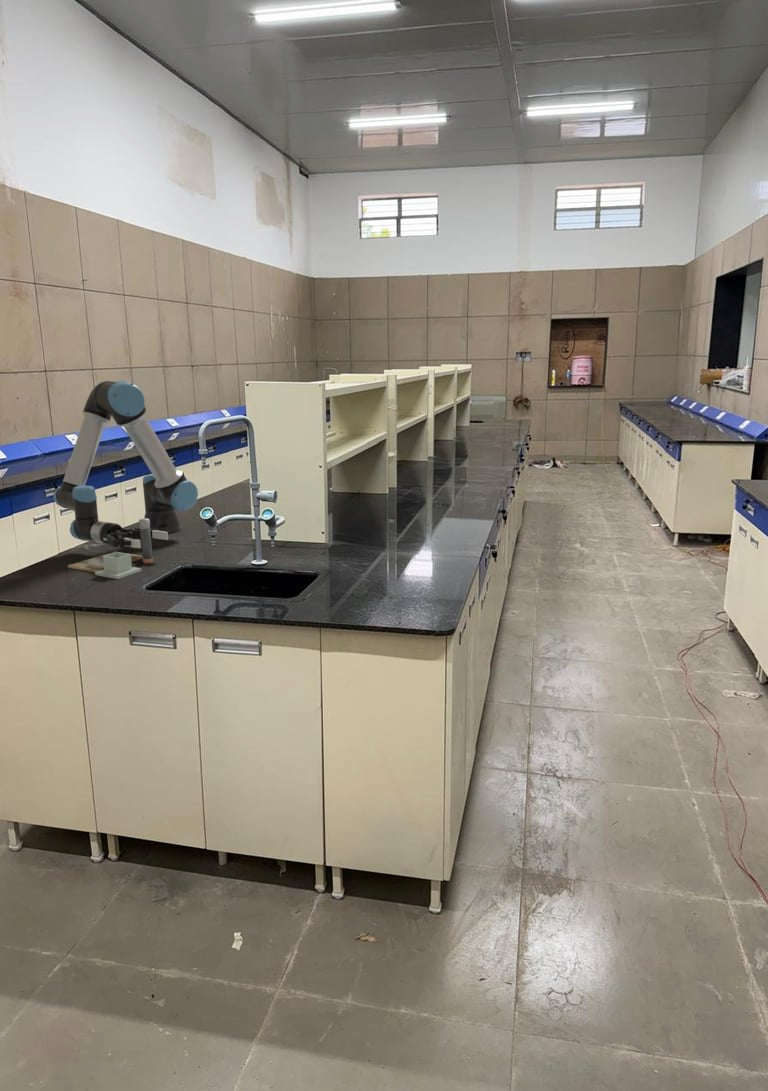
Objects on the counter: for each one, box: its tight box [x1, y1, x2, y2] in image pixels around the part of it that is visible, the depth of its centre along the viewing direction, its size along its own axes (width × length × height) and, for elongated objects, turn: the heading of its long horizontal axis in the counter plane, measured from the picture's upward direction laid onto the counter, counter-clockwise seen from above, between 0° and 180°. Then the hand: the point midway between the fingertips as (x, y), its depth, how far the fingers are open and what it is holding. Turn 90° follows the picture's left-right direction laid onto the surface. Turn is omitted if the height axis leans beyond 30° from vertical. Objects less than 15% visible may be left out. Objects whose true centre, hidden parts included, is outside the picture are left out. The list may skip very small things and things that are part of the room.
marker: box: [138, 517, 154, 565], centre depth 249 cm, size 3×3×15 cm
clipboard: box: [67, 551, 143, 573], centre depth 250 cm, size 20×14×2 cm
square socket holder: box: [94, 551, 142, 580], centre depth 238 cm, size 10×10×6 cm
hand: (153, 540), depth 247 cm, fingers open, 12 cm apart
